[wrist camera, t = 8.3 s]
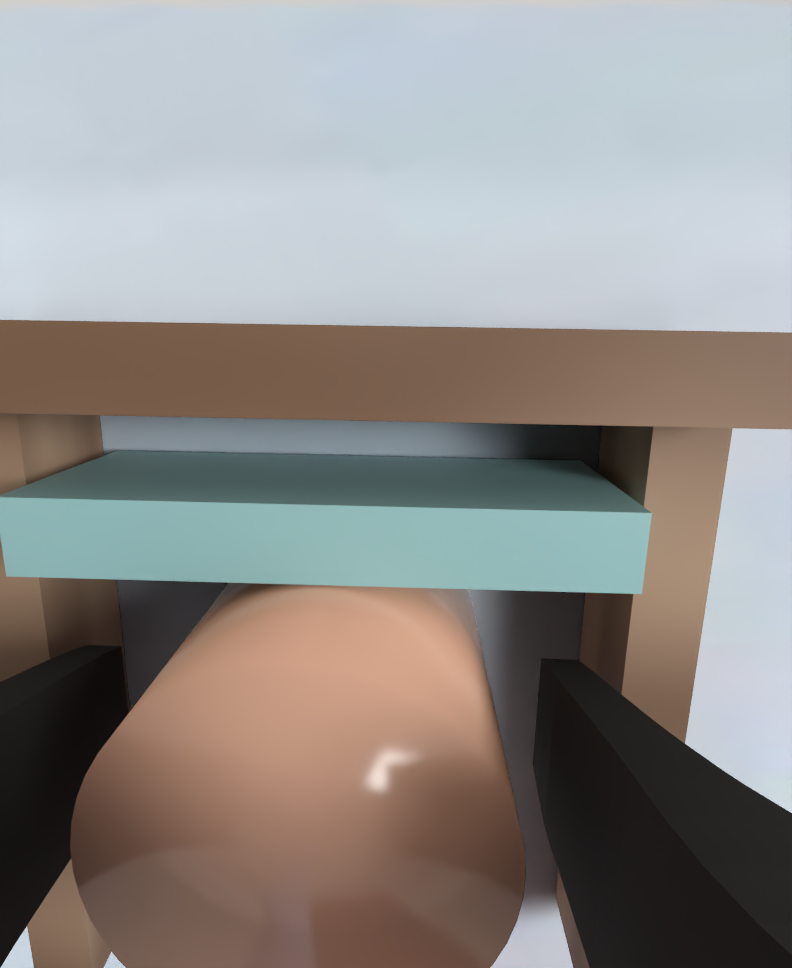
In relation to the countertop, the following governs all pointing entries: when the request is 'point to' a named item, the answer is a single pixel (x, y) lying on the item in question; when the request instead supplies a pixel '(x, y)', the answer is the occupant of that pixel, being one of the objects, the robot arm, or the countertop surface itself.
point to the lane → (415, 398)
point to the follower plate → (329, 522)
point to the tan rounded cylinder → (307, 791)
